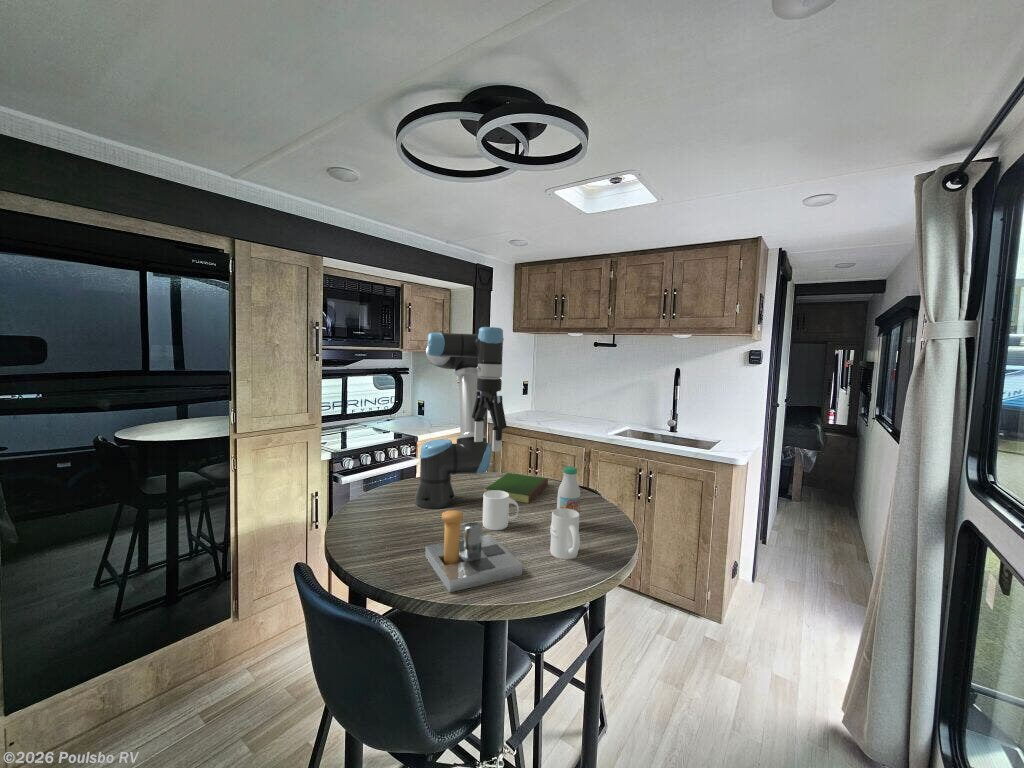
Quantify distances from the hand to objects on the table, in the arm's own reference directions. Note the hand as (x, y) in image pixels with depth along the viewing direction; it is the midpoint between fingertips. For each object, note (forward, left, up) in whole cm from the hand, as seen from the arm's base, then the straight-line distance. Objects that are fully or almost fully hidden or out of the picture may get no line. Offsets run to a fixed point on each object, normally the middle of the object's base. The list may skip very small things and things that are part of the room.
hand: (487, 446), depth 135 cm
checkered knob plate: (+16, -11, -29) cm, 35 cm away
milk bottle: (+4, +29, -29) cm, 41 cm away
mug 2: (+22, +16, -29) cm, 40 cm away
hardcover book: (-35, +31, -29) cm, 55 cm away
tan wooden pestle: (+16, -17, -29) cm, 37 cm away
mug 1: (-5, +8, -29) cm, 30 cm away
